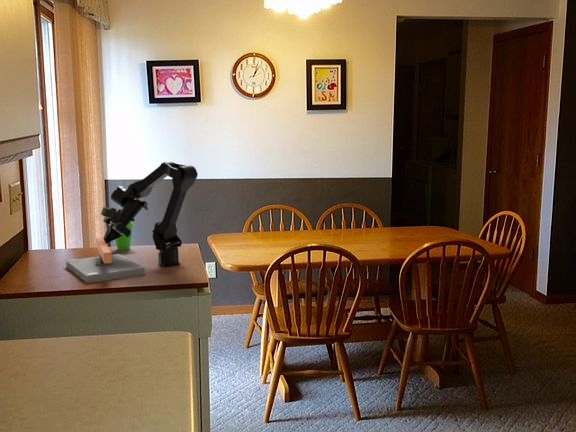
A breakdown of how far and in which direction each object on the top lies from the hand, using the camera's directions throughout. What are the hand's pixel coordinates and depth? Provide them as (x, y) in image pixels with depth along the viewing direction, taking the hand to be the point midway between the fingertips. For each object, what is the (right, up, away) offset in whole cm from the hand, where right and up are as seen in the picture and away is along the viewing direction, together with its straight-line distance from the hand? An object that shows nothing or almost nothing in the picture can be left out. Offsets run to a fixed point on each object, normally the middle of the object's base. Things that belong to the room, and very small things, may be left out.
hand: (102, 244), depth 231 cm
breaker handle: (+4, -7, -11) cm, 13 cm away
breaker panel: (+4, -9, -10) cm, 14 cm away
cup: (+1, -4, +27) cm, 27 cm away
